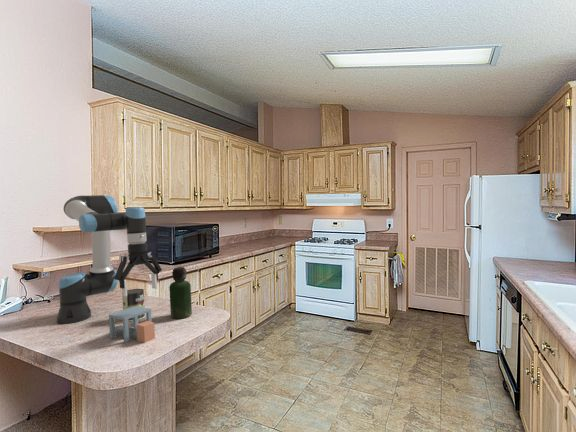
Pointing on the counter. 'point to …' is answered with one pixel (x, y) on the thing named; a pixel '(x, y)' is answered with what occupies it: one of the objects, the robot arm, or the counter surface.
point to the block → (145, 331)
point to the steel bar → (131, 331)
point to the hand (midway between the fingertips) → (140, 292)
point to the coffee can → (134, 301)
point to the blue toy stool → (126, 315)
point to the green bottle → (180, 295)
